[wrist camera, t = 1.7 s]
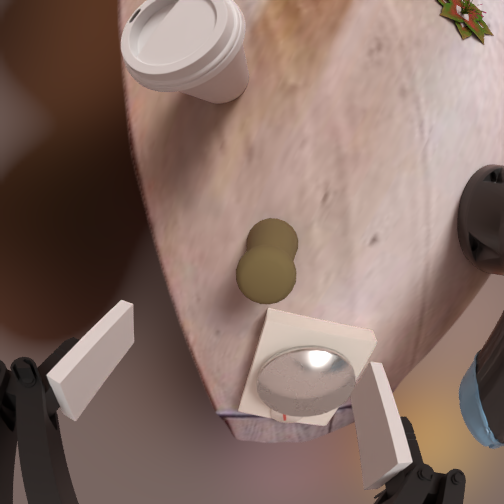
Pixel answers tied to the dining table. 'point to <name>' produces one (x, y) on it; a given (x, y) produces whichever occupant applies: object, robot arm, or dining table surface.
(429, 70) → the dining table surface
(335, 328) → the scale base
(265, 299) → the cork
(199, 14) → the coffee cup
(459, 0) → the lily flower
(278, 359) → the pan
